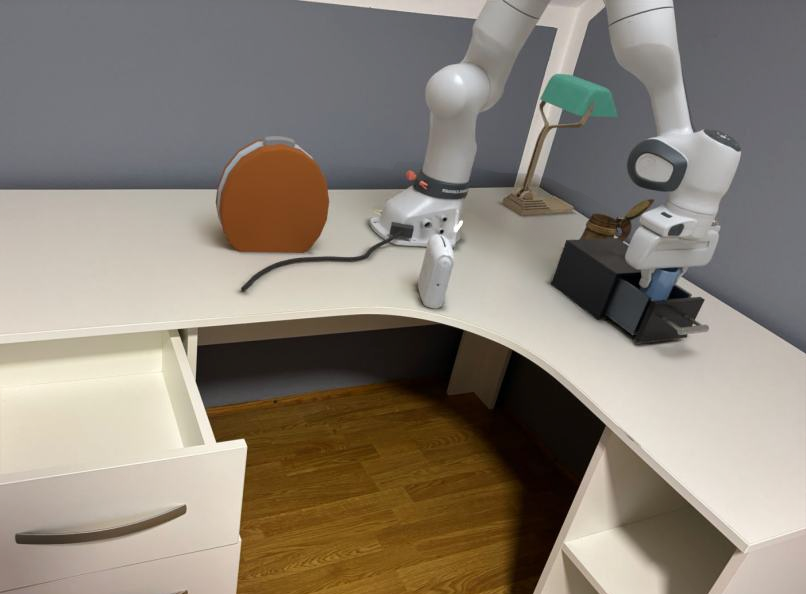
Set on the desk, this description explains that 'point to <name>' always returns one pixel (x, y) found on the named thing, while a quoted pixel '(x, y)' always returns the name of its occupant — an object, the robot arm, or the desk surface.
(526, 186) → the banker's lamp
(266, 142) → the alarm clock
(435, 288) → the photo printer
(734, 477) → the desk surface
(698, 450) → the desk surface
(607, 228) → the wooden mug
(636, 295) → the drawer
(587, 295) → the black box
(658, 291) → the cup
